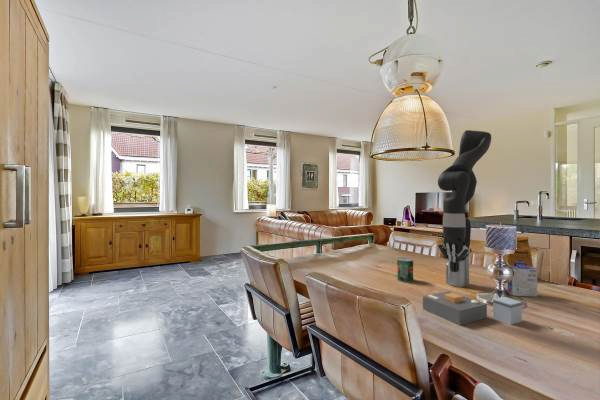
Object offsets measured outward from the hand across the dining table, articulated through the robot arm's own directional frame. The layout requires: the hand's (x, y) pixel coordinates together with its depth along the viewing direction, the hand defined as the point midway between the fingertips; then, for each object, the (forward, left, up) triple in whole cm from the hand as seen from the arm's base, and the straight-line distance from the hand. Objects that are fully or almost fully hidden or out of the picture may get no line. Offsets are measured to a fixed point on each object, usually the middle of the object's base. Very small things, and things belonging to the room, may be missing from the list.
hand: (454, 271), depth 111 cm
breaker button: (0, 0, -14) cm, 14 cm away
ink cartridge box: (-2, +45, -16) cm, 48 cm away
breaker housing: (0, 0, -16) cm, 16 cm away
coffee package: (-19, +71, -16) cm, 75 cm away
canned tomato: (-41, +15, -16) cm, 47 cm away
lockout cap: (+12, +12, -16) cm, 23 cm away
